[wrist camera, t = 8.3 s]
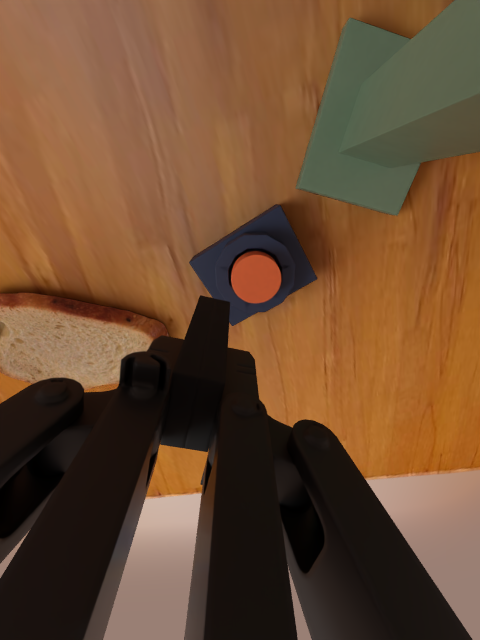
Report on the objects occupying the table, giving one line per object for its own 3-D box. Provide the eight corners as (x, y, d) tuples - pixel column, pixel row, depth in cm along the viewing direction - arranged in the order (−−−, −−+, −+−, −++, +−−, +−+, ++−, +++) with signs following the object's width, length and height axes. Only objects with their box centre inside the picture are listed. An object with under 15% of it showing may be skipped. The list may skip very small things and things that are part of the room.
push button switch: (276, 204, 28) (283, 205, 24) (311, 272, 31) (322, 284, 26) (192, 257, 30) (185, 266, 26) (232, 316, 33) (232, 334, 28)
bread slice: (182, 341, 34) (176, 358, 30) (85, 416, 38) (70, 438, 35) (56, 218, 28) (31, 221, 25) (-41, 323, 32) (-73, 338, 29)
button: (264, 241, 25) (266, 244, 23) (286, 282, 27) (290, 288, 25) (222, 266, 26) (221, 271, 24) (246, 304, 28) (247, 312, 26)
